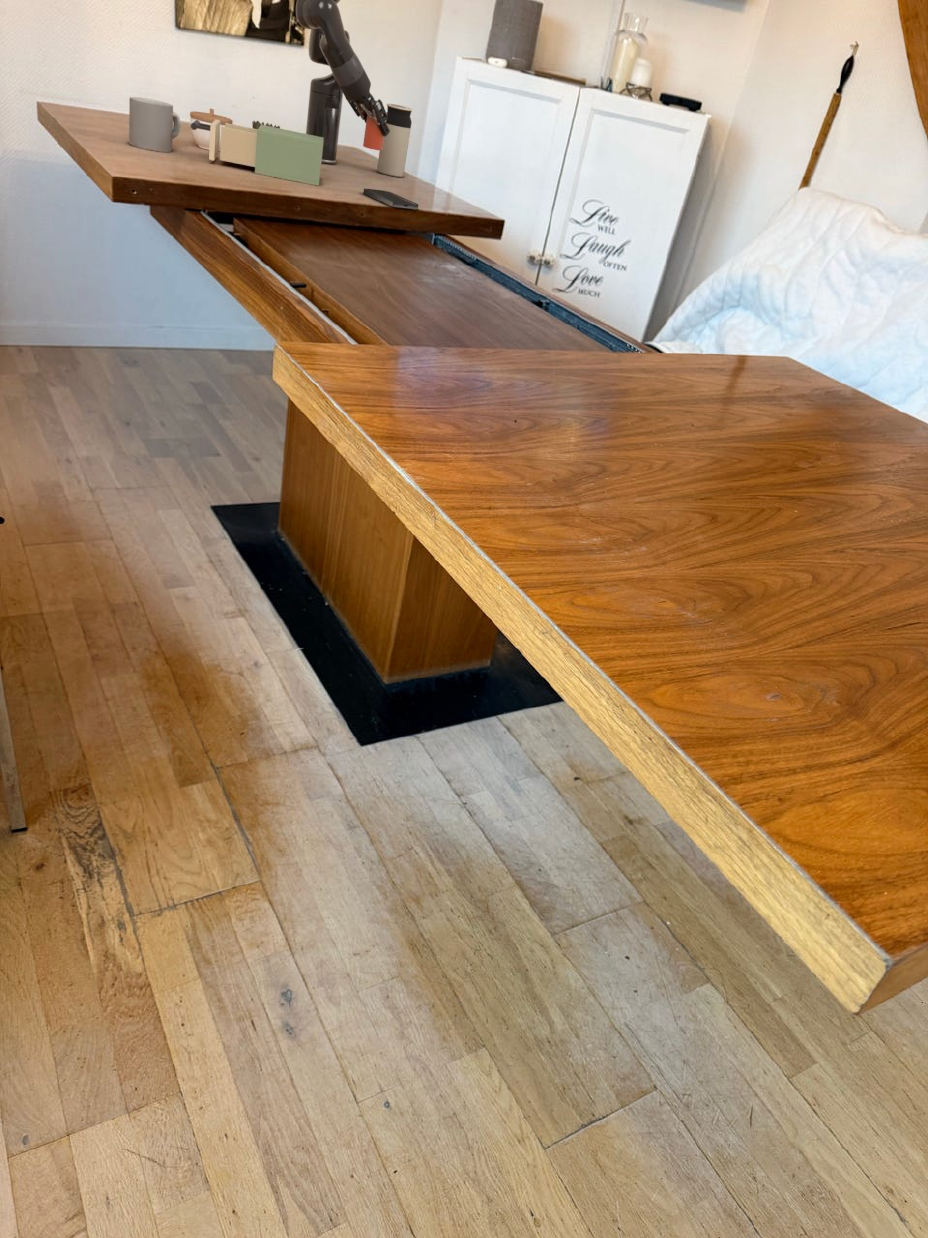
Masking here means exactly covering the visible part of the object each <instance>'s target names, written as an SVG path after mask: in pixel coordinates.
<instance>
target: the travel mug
mask: <svg viewBox="0 0 928 1238" xmlns="http://www.w3.org/2000/svg"><path fill="white" fill-rule="evenodd" d="M386 106H387V111H386V113H387V116H388V119H387V120H386V124H387V126H388V128H389V130H390V132H389V134H388V135H387V136H386V137H385V136H384V140H383V147H382V150H379V153H378V161H377V168H376V171H377V172H378V173H379V174H382V175H384V176H388V177H389V176H390V177H394V178H402V177H404V174H405V169H406V162H407V155H408V150H409V142H410V137H411V136H410V135H411V129H412V123H413V122H412V118H411V115H412V112H413V109H412V108H411V107H408V106H403V105H399V104H394V103H386Z"/></svg>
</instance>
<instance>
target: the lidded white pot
mask: <svg viewBox="0 0 928 1238" xmlns="http://www.w3.org/2000/svg"><path fill="white" fill-rule="evenodd" d="M189 117H190V118H189V119H190V120H189V125H190V132H191V136H192V138H193V140H194V142H195V143H196V144H197V147H198V148H200V149H204V150H208V151H209V147H210V131H207V130H203V129H198V128H197V129H196V130H193V129H192V128H191V124H192V123H193V122H194V121H196V120H198V121H199V122H200V123H203V124H207V125H211V123H212V122H213V121H215V120H220V138H219V152H220V148H221V129H222V127H225V123H229V124H233V123H234V122H233V119H231V118H230V117H226V116H223V115H220V114H219V115H218V114H216V113H215V109H214V108H209V112H203V111H194V110H193V111H190V112H189Z"/></svg>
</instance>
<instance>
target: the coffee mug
mask: <svg viewBox="0 0 928 1238" xmlns="http://www.w3.org/2000/svg"><path fill="white" fill-rule="evenodd" d="M128 110H129V117H128V118H129V119H128V120H129V121H128V123H129V124H128V126H129V127H128V129H129V130H128V139H129V141H128V144H129V145H130V146H132V147H136V148H138V149H143V150H147V151H152V152H153V151H154V152H161V153H170V152H173V139H175V138H177V137H178V136H179V134H180V132H181V119H180V116H179V115H178V113H177V112H175V111H174V105H173V104H171V103H169V102H164V101H160V100H157V99H151V98H146V97H139V96H130V97H129V109H128Z"/></svg>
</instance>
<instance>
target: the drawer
mask: <svg viewBox="0 0 928 1238" xmlns="http://www.w3.org/2000/svg"><path fill="white" fill-rule="evenodd" d="M191 128H192V129H193V130H196V129H197V128H198V129H203V130H207V131H210V147H209V150H208V160H209V161H215V160H216V159H217V158H218V157H219V161H223V162H228V163H233V164H238V165H243V166H247V167H253V168H255V160H256V146H257V132H258V129H253V127H247V126H243V125H237V124H233V123H232V124H229V123H225V127H222V129H221V148H220V151H219V138H220V120H215V121H213V122H212V123H211V125H207V124H203V123H200V122H199V121H198V120H196V121H194V122H193V123H192V124H191V126H190V129H191Z"/></svg>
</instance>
